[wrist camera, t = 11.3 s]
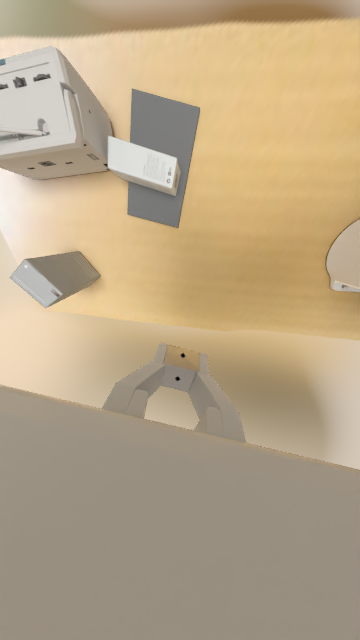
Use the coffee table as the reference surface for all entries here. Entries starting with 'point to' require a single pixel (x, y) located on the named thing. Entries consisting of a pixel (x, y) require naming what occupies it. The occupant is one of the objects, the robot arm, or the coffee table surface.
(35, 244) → the coffee table surface
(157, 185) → the skincare box
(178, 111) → the mat
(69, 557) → the robot arm
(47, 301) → the skincare box
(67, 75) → the stereo radio cassette player
